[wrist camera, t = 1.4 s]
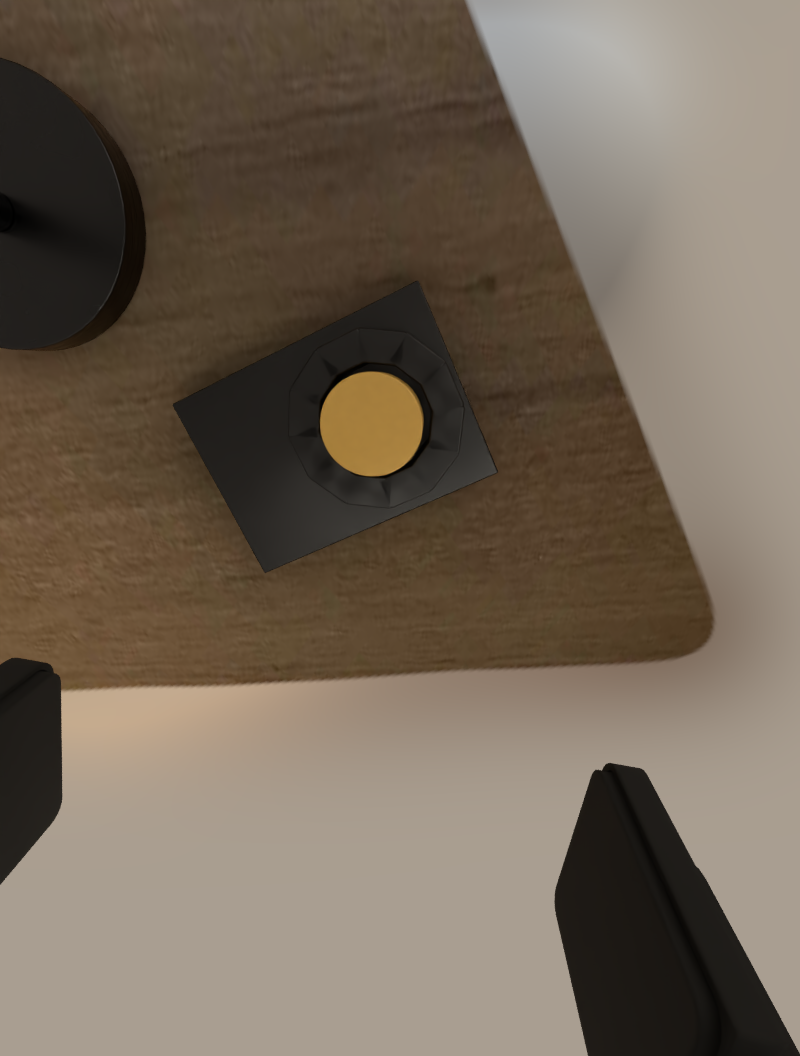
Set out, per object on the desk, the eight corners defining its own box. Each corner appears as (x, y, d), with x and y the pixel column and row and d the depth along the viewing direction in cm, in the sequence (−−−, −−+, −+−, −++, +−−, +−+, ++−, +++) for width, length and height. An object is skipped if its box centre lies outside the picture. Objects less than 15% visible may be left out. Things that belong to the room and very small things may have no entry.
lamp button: (399, 354, 20) (396, 353, 18) (439, 445, 21) (439, 451, 19) (312, 397, 21) (301, 399, 19) (354, 483, 21) (347, 492, 20)
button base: (419, 286, 22) (416, 271, 19) (493, 465, 24) (503, 481, 21) (189, 402, 24) (149, 407, 21) (275, 560, 26) (251, 589, 22)
